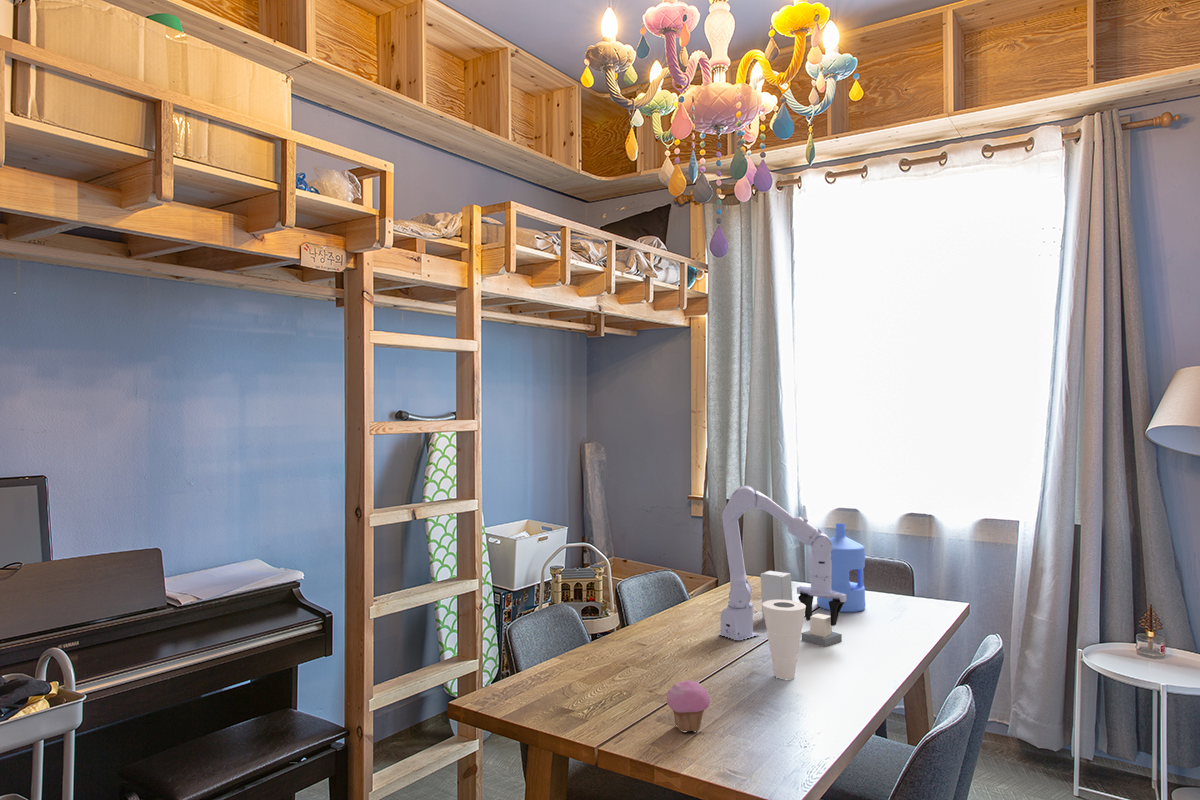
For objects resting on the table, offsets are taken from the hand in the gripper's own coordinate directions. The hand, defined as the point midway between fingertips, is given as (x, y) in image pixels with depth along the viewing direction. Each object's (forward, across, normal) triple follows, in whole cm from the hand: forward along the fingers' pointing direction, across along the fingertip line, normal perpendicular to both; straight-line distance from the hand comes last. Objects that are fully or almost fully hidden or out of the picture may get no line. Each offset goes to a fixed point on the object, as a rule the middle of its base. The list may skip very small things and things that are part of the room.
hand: (821, 622), depth 218 cm
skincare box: (+6, -20, +11) cm, 24 cm away
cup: (+6, +7, -34) cm, 35 cm away
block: (+3, 0, 0) cm, 3 cm away
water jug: (+5, -12, +39) cm, 41 cm away
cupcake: (+6, +8, -76) cm, 76 cm away
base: (+5, 0, 0) cm, 5 cm away
